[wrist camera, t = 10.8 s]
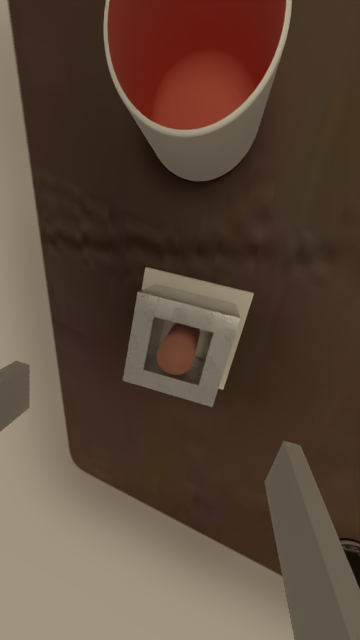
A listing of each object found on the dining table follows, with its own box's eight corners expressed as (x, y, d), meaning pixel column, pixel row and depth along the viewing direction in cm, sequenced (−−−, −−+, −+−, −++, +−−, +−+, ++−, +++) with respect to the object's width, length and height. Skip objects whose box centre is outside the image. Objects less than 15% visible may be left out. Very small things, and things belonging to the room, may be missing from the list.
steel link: (155, 283, 26) (137, 291, 20) (235, 303, 25) (240, 318, 19) (142, 355, 28) (122, 380, 22) (213, 375, 27) (212, 407, 22)
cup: (209, 207, 23) (202, 174, 14) (132, 140, 23) (71, 60, 13) (283, 108, 20) (340, -21, 11) (196, 29, 20) (176, -180, 10)
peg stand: (147, 267, 26) (118, 271, 18) (252, 292, 25) (267, 308, 17) (131, 360, 30) (101, 396, 22) (223, 386, 28) (224, 433, 21)
